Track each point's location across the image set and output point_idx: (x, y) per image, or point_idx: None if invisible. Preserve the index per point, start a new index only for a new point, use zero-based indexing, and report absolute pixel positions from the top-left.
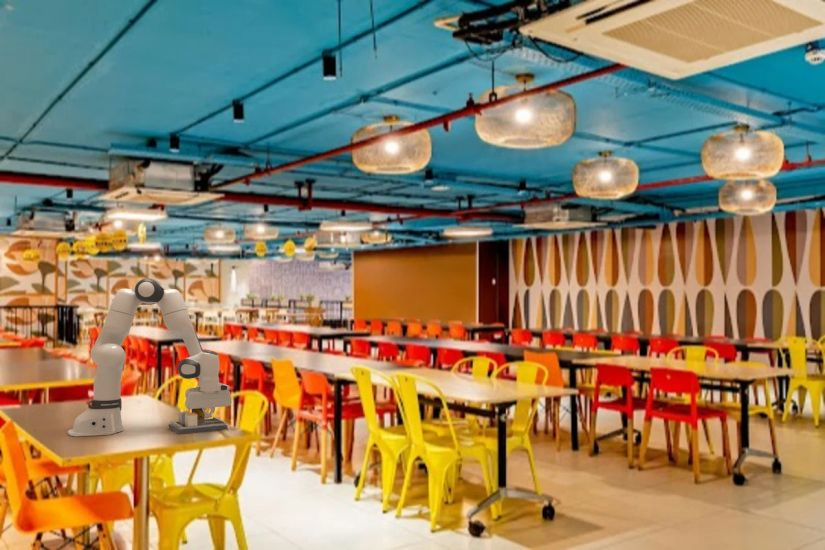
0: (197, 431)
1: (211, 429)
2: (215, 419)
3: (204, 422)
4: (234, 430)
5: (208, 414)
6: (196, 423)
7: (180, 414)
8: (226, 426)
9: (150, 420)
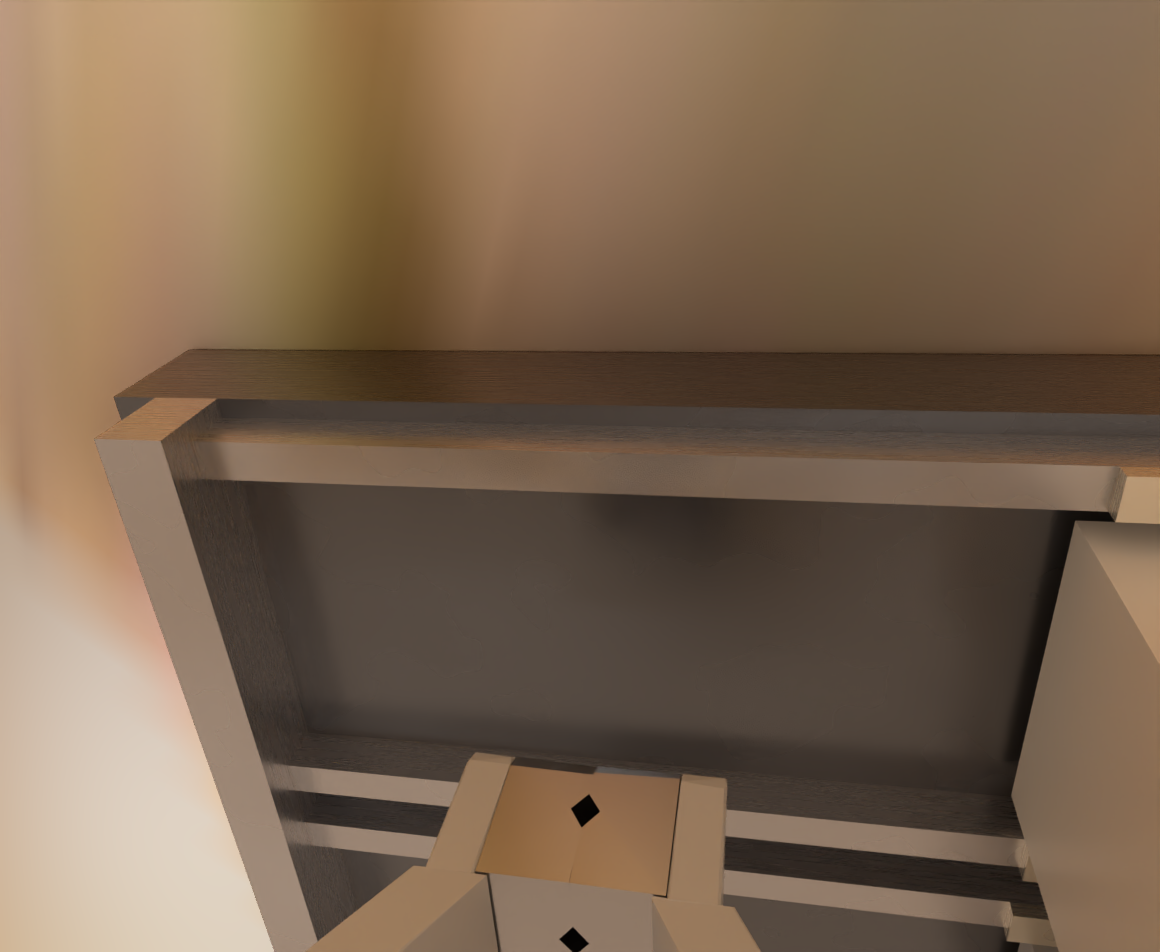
0: (1069, 368)
1: (612, 367)
2: None
3: None
4: (11, 125)
5: (588, 860)
6: (1148, 583)
7: None
8: (165, 379)
9: None
